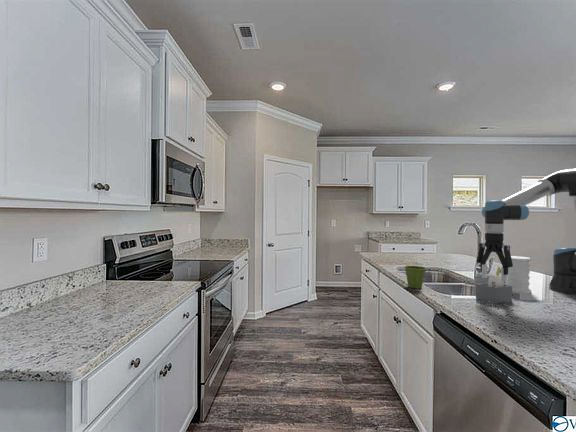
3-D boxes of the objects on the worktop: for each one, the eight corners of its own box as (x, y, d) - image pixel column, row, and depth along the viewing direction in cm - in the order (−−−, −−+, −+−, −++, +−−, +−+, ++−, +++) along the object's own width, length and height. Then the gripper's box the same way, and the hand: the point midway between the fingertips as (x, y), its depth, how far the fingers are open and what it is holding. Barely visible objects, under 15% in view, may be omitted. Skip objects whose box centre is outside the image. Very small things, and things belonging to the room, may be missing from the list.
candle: (484, 295, 154) (488, 264, 155) (489, 295, 158) (493, 265, 159) (499, 299, 149) (503, 267, 150) (503, 298, 154) (507, 267, 154)
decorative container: (499, 289, 175) (499, 256, 174) (513, 287, 179) (513, 255, 179) (522, 294, 164) (522, 259, 164) (536, 292, 168) (536, 258, 168)
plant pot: (420, 290, 172) (420, 269, 172) (400, 287, 181) (400, 267, 181) (430, 287, 180) (430, 267, 180) (410, 283, 189) (410, 264, 189)
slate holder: (491, 296, 161) (491, 281, 161) (511, 301, 151) (512, 286, 151) (476, 298, 157) (476, 283, 156) (496, 304, 147) (496, 288, 147)
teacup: (476, 292, 169) (476, 277, 169) (472, 287, 179) (472, 273, 179) (507, 294, 164) (507, 278, 164) (501, 289, 175) (501, 275, 175)
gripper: (468, 231, 162) (468, 276, 162) (512, 234, 142) (511, 284, 142) (478, 231, 165) (478, 274, 165) (522, 233, 145) (522, 283, 145)
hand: (493, 279), depth 154 cm, fingers open, 9 cm apart
